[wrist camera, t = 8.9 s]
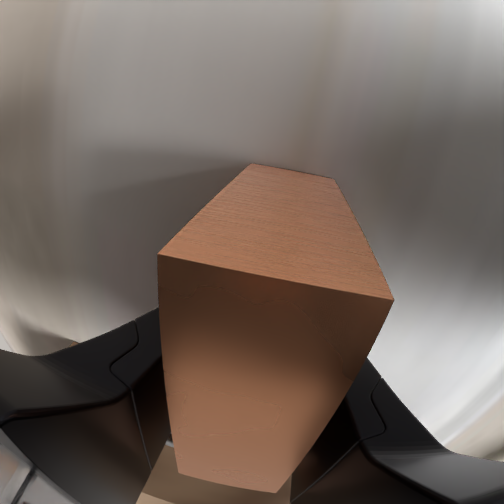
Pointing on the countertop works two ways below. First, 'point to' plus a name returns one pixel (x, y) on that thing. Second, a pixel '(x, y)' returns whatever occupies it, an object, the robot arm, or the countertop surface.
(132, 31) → the countertop surface
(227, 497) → the walnut shelf
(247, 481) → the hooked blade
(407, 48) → the countertop surface
